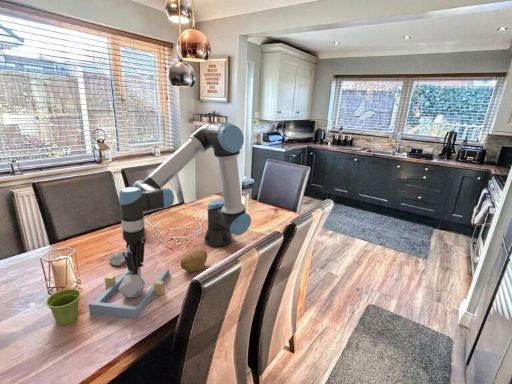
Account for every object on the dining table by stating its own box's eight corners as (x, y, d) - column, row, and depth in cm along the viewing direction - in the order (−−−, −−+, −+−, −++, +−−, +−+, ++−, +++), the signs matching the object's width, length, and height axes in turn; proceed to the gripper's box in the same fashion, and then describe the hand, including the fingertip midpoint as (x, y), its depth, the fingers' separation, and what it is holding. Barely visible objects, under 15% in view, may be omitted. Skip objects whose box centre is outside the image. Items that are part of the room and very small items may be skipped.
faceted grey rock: (133, 307, 102) (148, 283, 103) (110, 296, 100) (125, 271, 101) (137, 298, 110) (151, 276, 111) (116, 288, 108) (131, 266, 110)
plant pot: (71, 306, 99) (68, 285, 97) (90, 314, 96) (87, 293, 94) (43, 323, 91) (39, 301, 89) (63, 333, 88) (58, 310, 85)
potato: (213, 265, 129) (213, 250, 127) (191, 280, 118) (191, 263, 116) (197, 258, 134) (197, 244, 132) (175, 272, 123) (174, 256, 120)
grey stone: (132, 258, 132) (131, 249, 130) (123, 268, 124) (122, 258, 122) (114, 257, 132) (113, 247, 131) (104, 266, 124) (103, 256, 123)
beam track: (175, 274, 121) (175, 264, 119) (145, 320, 95) (144, 308, 93) (125, 269, 123) (124, 259, 121) (81, 312, 97) (79, 300, 95)
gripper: (132, 220, 111) (136, 271, 118) (113, 234, 99) (119, 291, 106) (150, 222, 110) (153, 273, 117) (133, 236, 98) (138, 293, 105)
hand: (137, 282), depth 111 cm, fingers closed
